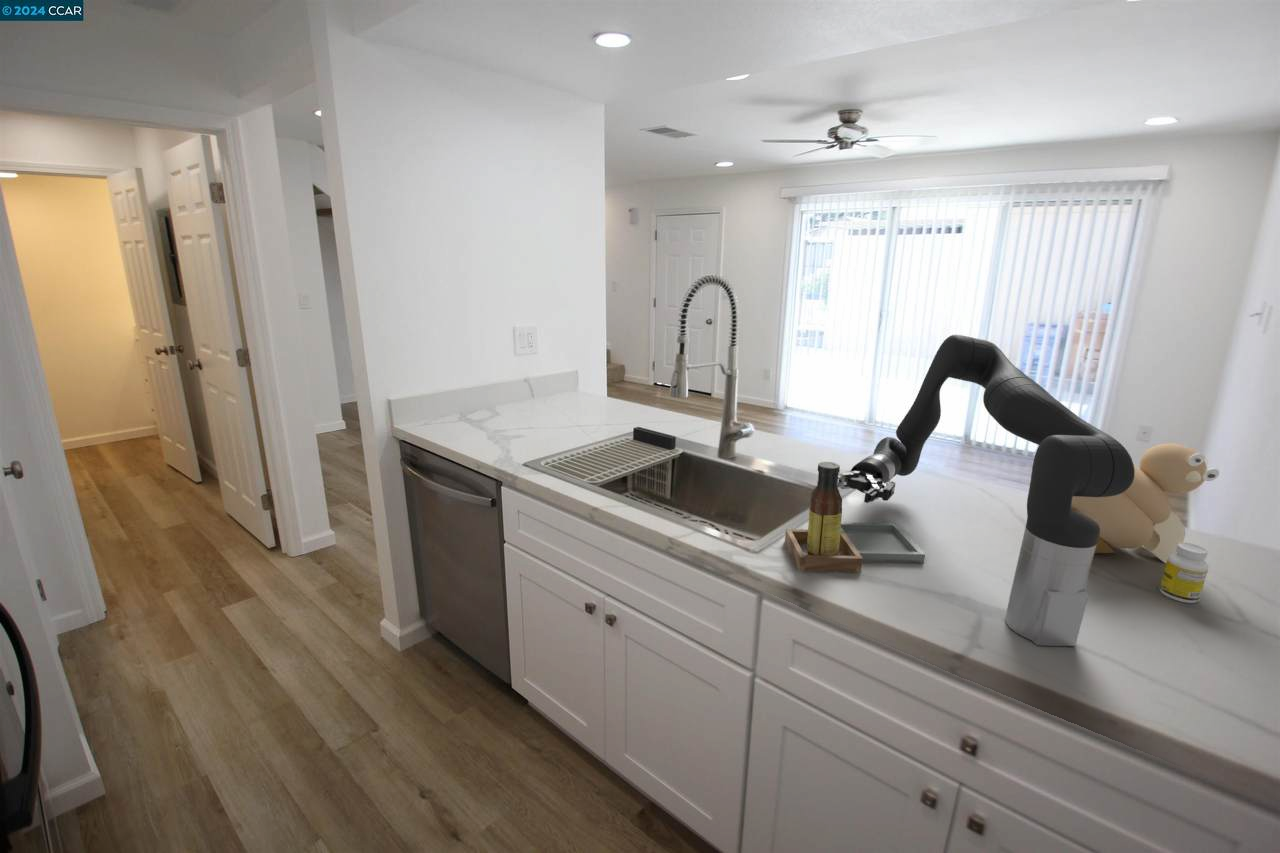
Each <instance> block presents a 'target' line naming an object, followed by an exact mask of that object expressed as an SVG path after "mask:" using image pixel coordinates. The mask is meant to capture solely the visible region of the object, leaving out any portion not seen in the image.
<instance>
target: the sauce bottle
mask: <svg viewBox="0 0 1280 853" xmlns="http://www.w3.org/2000/svg"><path fill="white" fill-rule="evenodd" d="M817 471H818V474H817V476H818V477H817V484H816V487H815V488H814V489H813V490H812V491H811V493H810V504H809V505H810V506H809V509H808V510H809V513H808V515H809V516H808V528H807V530H808V539H807V545H806V550H807V555H838V556H839V551H840V548H839V545H840V532H841V522H842V519H843V498H842V496H841V493H840V490H839V487H837V486H838V482H839V479H838V474H839V472H841V471H840V464H838V463H836V462H833V461H832V462H831V461H821V462H819V463H818V464H817Z"/></svg>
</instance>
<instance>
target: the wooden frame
mask: <svg viewBox="0 0 1280 853" xmlns="http://www.w3.org/2000/svg"><path fill="white" fill-rule="evenodd" d="M807 539H808V529H795V528H791V529H789V528H787V529H785V537H784V543H785V545H786V547H787V550H788V552H789V553H790V556H791V557H792V559H793V561H794V564H795V566H796V567H797V569H798V572H821V573H822V572H823V573H825V572H826V573H827V572H828V573H862V569H863V568H862V567H863V563H864V562H863V558H862V556H861V555H860V554H859V552H858V551H857V550H856V548H855V547H854V545H853V544H852V543H851V541H850V540H849V539H848V537H847V536H846V534H845V533H844V532H843V530H841V532H840V545H839V550H840V551H841V552H842V554H843V555H839V554H838V555H808V554H805V553H804V551H803V549H802V548H801V546H800V545H806V546H807Z"/></svg>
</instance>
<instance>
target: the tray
mask: <svg viewBox="0 0 1280 853" xmlns="http://www.w3.org/2000/svg"><path fill="white" fill-rule="evenodd" d="M841 530H843V532H844V533H845V534H846V536H847V537H848V539H849V540H850V541H851V543H852V544H853V545H854V547H855V548H856V550H857V551H858V552H859V554H860V555H861V556H862V558H863V562H862V563H889V564H893V563H894V564H895V563H896V564H924V563H925V558H926V554H925V552H923V550H922V549H921V548H920V547H919V546H918V545H917V544H916V543H915V542H914V540H912V539H911V538H910V537H909V536H908V534H906V532H905V531H904V530H903V529H902V528H901V527H900V525H898V524H897V523H895V522H894V523H891V522H890V523H889V522H846V521H845V522H844V521H843V522H842V521H841Z"/></svg>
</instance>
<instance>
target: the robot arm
mask: <svg viewBox="0 0 1280 853" xmlns="http://www.w3.org/2000/svg"><path fill="white" fill-rule="evenodd" d="M949 378H951V379H955V380H959V381H964V382H969V383H972V384H976V385H979V386H980V387H982V388H983V389H984V391H983V396H982V397H983V398H982V399H983V401H982V402H983V405H984V408H985V409H986V411H987V413H988V414H989V415H990V416H991V417H992V418H993V419H994V420H995V421H996V423H997V424H998V425H999V426H1001V427H1002V428H1003V429H1004V430H1005V431H1007V432H1009V433H1011V434H1013V435H1015V436H1016V437H1018V438H1021V439H1023V440H1026V441H1028V442H1031V443H1033V444H1036V445H1038V447H1037V449H1036V451H1035V454H1034V457H1033V463H1032V470H1031V474H1030V482H1029V489H1028V494H1027V501H1026V515H1027V516H1026V519H1027V520H1026V523H1025V526H1024V527H1025V528H1024V532H1023V535H1022V536H1023V537H1022V541H1021V545H1020V550H1019V554H1018V558H1017V562H1016V567H1015V572H1014V576H1013V579H1012V580H1013V581H1012V586H1011V589H1010V593H1009V598H1008V604H1007V608H1006V613H1005V618H1004V620H1005V623H1006V624H1007V626H1008V627H1009V628H1010V629H1011V630H1013V632H1015V633H1016V634H1018V635H1020V636H1021V637H1023V638H1025V639H1027V640H1030V641H1032V642H1033V643H1034V644H1035V645H1036V646H1047V647H1048V646H1049V647H1051V646H1052V647H1076V644H1077V641H1078V637H1079V634H1080V630H1081V628H1082V627H1081V626H1082V624H1083V623H1082V622H1083V620H1084V619H1083V618H1084V615H1085V611H1086V607H1087V603H1088V600H1089V596H1090V594H1089V593H1088V592H1087V591H1086V590H1085V589H1086V585H1087V582H1088V578H1089V574H1090V570H1091V567H1092V564H1093V560H1094V556H1095V554H1096V553H1095V549H1096V545H1097V542H1098V538H1099V534H1100V527H1099V525H1098V524H1097V523H1096V522H1095V521H1094V520H1092V519H1091V518H1089V517H1088V516H1086V515H1084V514H1081V513H1079V512H1077V511H1074V510H1071V504H1072V497H1073V496H1081V497H1109V496H1115V495H1118V494H1121V493H1123V492H1125V491H1126V490H1127V489H1128V488H1129V487H1130V486H1131V484H1132V483H1133V480H1134V474H1135V470H1134V466H1135V464H1134V461H1133V459H1132V457H1131V454H1130V453H1129V451H1128V450H1127V449H1126V448H1125V447H1124V445H1123V444H1121V442H1119V441H1118V440H1117V439H1116V438H1114V437H1112V436H1111V435H1109V434H1107V433H1106V432H1104V431H1102V430H1101V429H1099V428H1097V427H1096V426H1094V425H1092V424H1090V423H1089V422H1087V421H1086V420H1084V419H1082V418H1081V417H1079V416H1078V415H1077V414H1076V413H1075V412H1073V411H1071V410H1070V409H1069V408H1068V407H1066V406H1065V405H1064V404H1063V403H1062V402H1060V400H1057V399H1056V398H1055V397H1054V396H1053V395H1051V394H1050V393H1049V392H1048V391H1047V390H1046V389H1045V388H1044V387H1043V386H1041V385H1040V384H1039V383H1037V381H1035V380H1034V379H1032V378H1030V377H1029V376H1028V375H1027V374H1026V373H1024V372H1023V371H1022V370H1021V369H1019V368H1018V367H1017V366H1015V364H1013V363H1012V362H1011V360H1010V359H1009V358H1008V357H1007V356H1006V355H1005V354H1004V352H1003V351H1002V349H1000V348H999V347H998V346H997V345H996V344H995V343H993V342H991V341H989V340H986V339H981V338H976V337H970V336H967V335H964V334H962V335H961V334H952V335H949V336H948V337H947V338H945V340H943V342H942V343H941V344H940V346H939V348H938V350H937V351H936V353H935V355H934V357H933V359H932V361H931V364H930V366H929V368H928V370H927V372H926V374H925V377H924V379H923V381H922V382H921V383H922V384H921V386H920V388H919V390H918V393H917V394H916V395H917V396H916V398H915V399H914V401H913V403H912V404H911V407H910V408H909V410H908V411H907V413H906V414H905V416H904V417H903V418H902V420H901V422H900V423H899V425H898V426H897V428H896V431H895V435H896V438H895V437H891V436H889V437H888V436H887V437H884V438H882V439H881V440H880V441H879V442H878V443H877V444H876V446H875V448H874V450H873V454H871V455H869V456H867V457H864V458H863V459H862V460H860V461H858V462H857V463H856V464H855V465H853V466H852V468H851V469H850V470H849V471H845V472H841V471H840V472H839V474H838V486H837V487H838V488H840V489H841V490H849V489H852V490H857V491H859V492H860V493H862V494H864V500H863V502H864V503H866V504H869V503H870V502H874V501H876V500H879V499H881V500H882V501H890V498H892V497H893V495H894V494H895V490H896V482H895V481H891V480H892V479H893V478H894V477H896V476H897V475H898V476H901V477H904V476H905V477H906V476H909V475H911V474H912V473H913V472H914V471H915V470H916V468H917V467H918V464H919V462H920V458H921V455H922V450H923V448H924V445H925V444H926V442H927V440H928V439H929V437H931V435H932V433H934V431H935V429H936V428H937V427H938V424H939V422H940V420H941V416H942V415H941V414H942V407H941V397H940V396H941V395H940V394H941V393H940V392H941V389H942V387H943V385H944V383H945V382H946V381H947V380H948V379H949Z"/></svg>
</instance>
